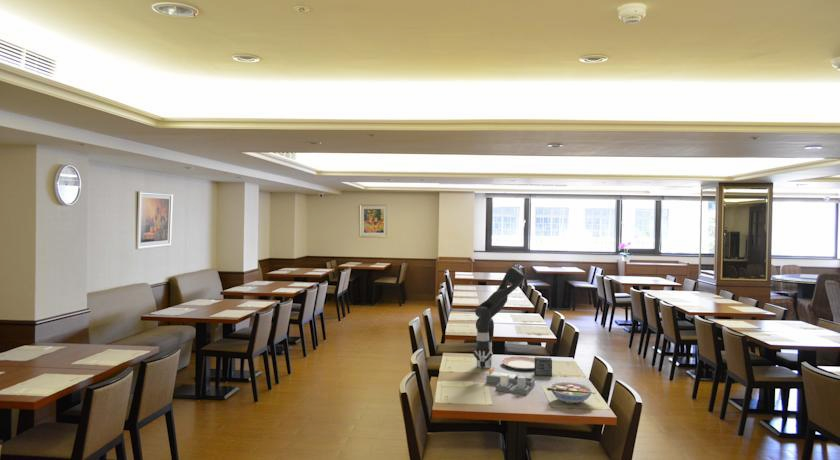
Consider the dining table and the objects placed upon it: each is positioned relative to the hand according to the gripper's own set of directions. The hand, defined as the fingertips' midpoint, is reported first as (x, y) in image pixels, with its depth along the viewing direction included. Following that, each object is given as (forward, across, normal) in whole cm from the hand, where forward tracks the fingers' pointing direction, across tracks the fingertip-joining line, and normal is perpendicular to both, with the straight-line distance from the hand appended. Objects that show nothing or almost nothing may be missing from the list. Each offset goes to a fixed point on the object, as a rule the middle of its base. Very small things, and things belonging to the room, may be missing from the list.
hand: (482, 367), depth 330 cm
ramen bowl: (+9, -55, +17) cm, 58 cm away
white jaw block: (+6, -17, +12) cm, 22 cm away
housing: (+8, -17, +6) cm, 20 cm away
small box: (+8, -32, -28) cm, 43 cm away
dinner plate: (+8, -15, -43) cm, 46 cm away
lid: (+3, -12, 0) cm, 13 cm away
